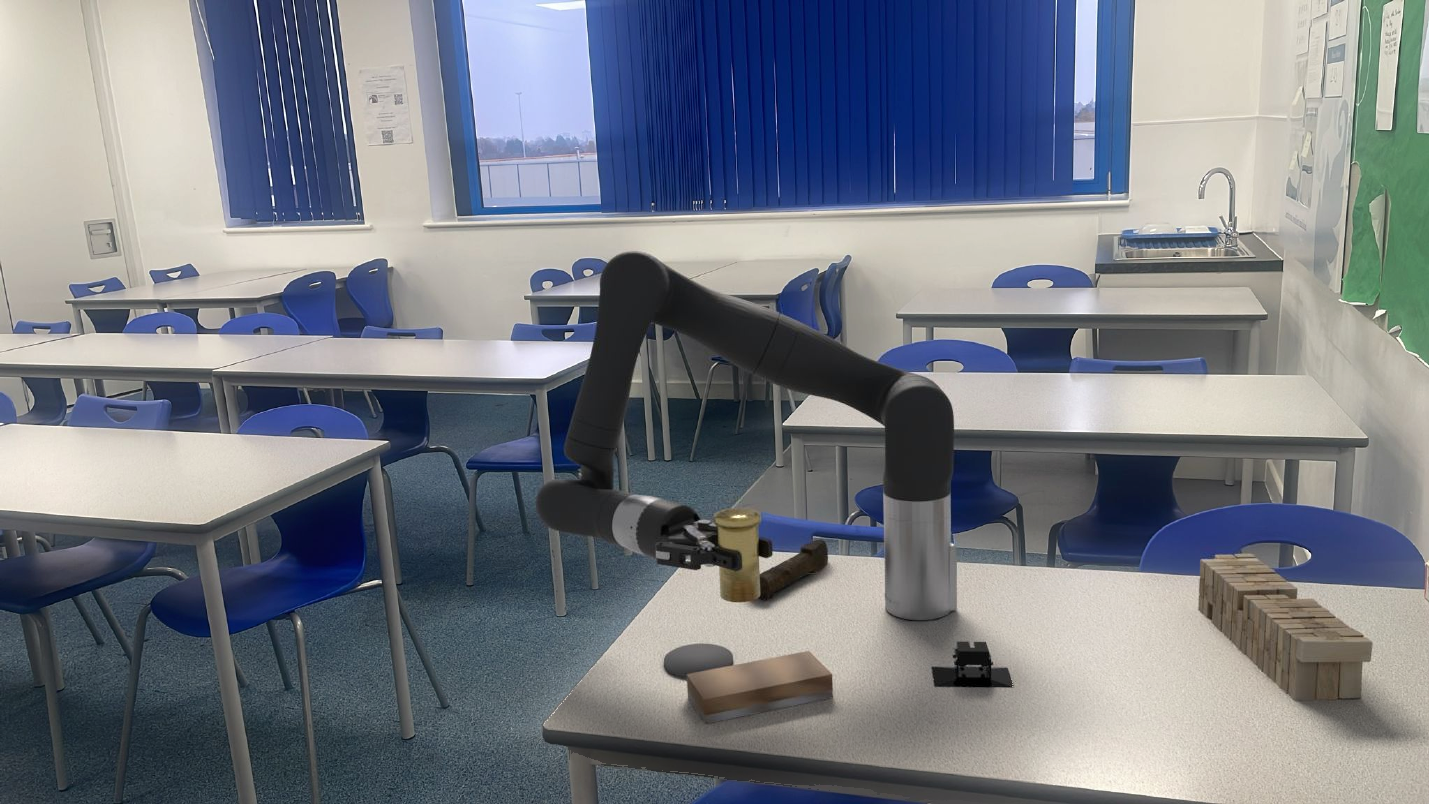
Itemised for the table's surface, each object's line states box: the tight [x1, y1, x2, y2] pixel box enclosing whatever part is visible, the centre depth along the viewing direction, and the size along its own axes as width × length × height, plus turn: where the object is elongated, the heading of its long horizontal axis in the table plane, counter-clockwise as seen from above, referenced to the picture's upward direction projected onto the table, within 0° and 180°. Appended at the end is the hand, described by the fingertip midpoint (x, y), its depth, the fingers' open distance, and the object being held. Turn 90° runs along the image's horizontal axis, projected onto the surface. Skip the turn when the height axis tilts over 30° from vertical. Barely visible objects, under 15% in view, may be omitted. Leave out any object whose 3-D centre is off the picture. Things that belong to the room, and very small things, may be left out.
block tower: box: [1197, 553, 1373, 701], centre depth 133 cm, size 8×8×29 cm
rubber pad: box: [663, 643, 734, 679], centre depth 138 cm, size 9×9×1 cm
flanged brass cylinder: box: [713, 507, 762, 603], centre depth 127 cm, size 6×6×10 cm
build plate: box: [930, 640, 1015, 689], centre depth 130 cm, size 12×7×5 cm, turn 83°
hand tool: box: [756, 539, 829, 601], centre depth 164 cm, size 19×4×5 cm, turn 138°
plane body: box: [686, 650, 834, 725], centre depth 128 cm, size 16×7×3 cm, turn 108°
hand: (755, 555), depth 125 cm, fingers closed on flanged brass cylinder, 4 cm apart
